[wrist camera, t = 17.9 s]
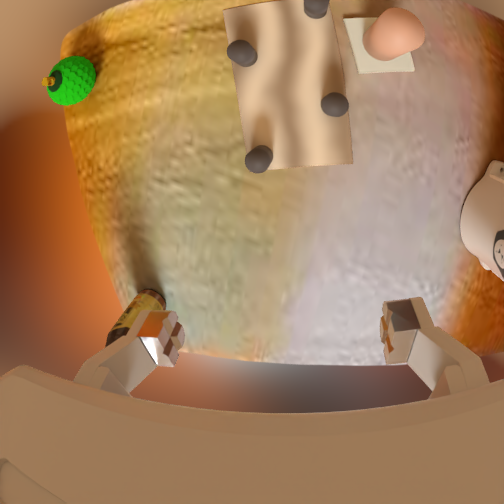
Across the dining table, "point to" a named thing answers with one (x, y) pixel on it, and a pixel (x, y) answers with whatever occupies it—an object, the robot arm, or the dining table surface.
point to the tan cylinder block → (393, 34)
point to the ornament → (70, 80)
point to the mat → (363, 59)
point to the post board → (289, 84)
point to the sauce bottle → (135, 313)
